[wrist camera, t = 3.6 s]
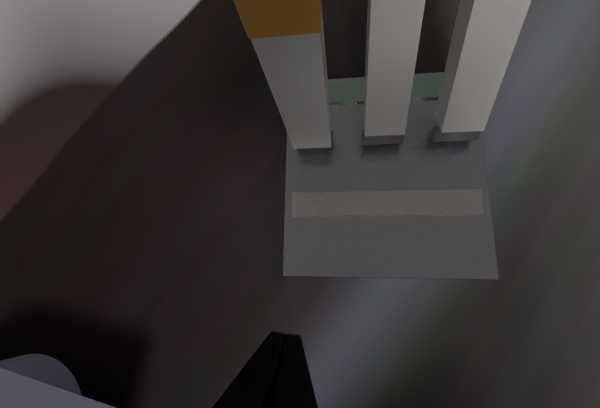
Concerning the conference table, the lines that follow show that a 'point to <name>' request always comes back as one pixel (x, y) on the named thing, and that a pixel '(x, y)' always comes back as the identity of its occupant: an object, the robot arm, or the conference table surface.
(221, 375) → the conference table surface
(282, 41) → the tripped breaker
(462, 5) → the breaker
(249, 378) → the robot arm
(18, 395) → the wedge on round base
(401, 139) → the grey long bar piece
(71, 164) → the conference table surface
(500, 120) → the conference table surface
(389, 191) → the panel
